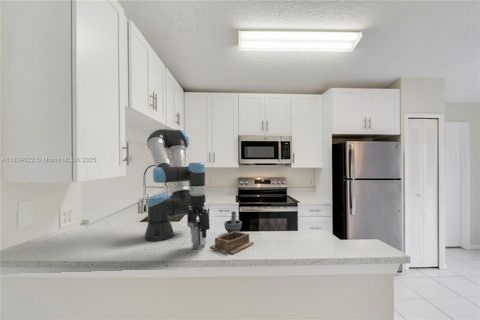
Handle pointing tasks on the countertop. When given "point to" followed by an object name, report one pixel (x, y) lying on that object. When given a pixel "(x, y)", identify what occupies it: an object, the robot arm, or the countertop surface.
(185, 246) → the countertop surface
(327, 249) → the countertop surface
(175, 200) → the robot arm
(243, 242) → the wooden box
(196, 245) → the bracket
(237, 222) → the mortar and pestle
